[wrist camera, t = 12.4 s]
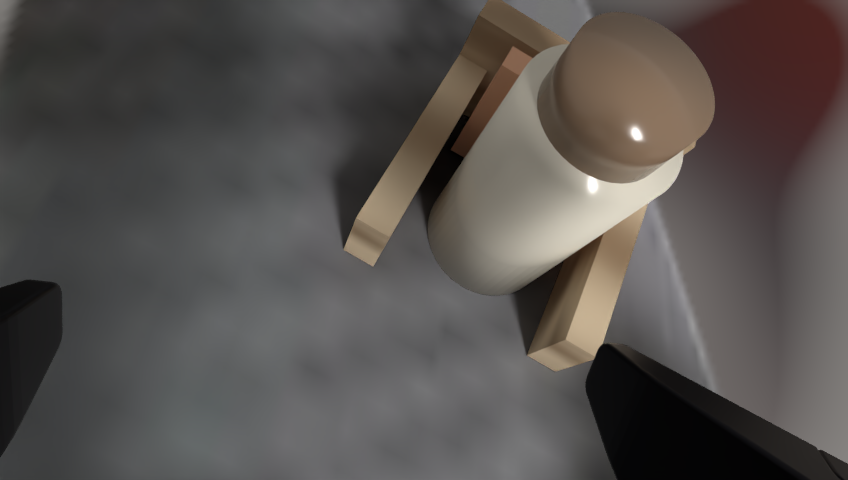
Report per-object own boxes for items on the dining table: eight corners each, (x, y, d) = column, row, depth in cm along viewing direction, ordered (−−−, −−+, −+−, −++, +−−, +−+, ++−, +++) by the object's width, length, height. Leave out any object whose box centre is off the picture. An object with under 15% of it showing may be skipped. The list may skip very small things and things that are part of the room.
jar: (480, 320, 25) (653, 206, 14) (402, 216, 26) (508, 32, 15) (566, 254, 27) (769, 114, 16) (492, 161, 28) (639, -29, 17)
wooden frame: (555, 371, 25) (636, 346, 19) (343, 249, 24) (367, 188, 19) (622, 184, 30) (701, 123, 25) (449, 80, 29) (491, -6, 24)
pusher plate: (572, 222, 28) (655, 158, 22) (450, 149, 27) (501, 65, 22) (580, 204, 28) (662, 137, 22) (460, 133, 28) (512, 46, 22)
